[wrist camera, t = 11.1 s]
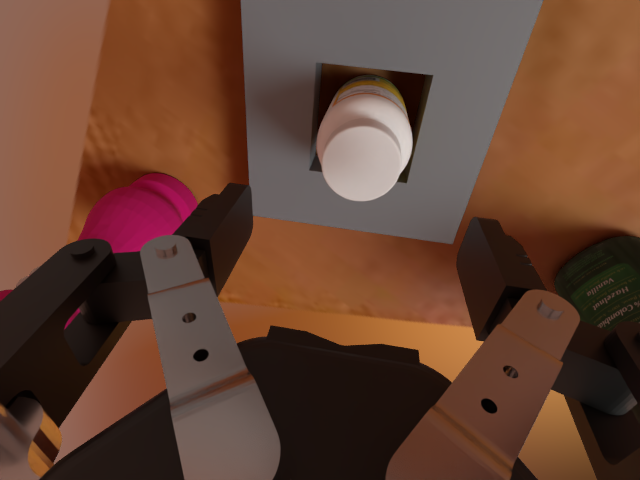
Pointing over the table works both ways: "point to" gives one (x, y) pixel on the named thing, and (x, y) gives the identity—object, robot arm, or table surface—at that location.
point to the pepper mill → (136, 215)
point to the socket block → (387, 54)
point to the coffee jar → (604, 284)
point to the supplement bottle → (364, 138)
